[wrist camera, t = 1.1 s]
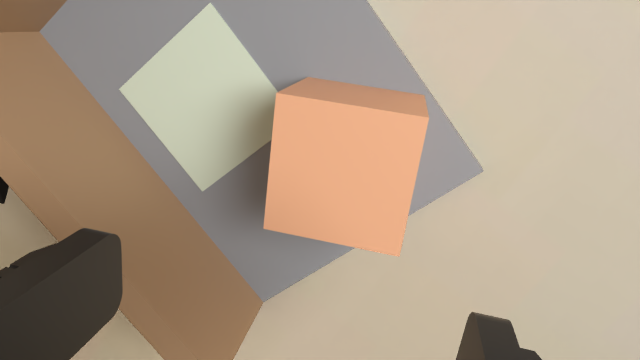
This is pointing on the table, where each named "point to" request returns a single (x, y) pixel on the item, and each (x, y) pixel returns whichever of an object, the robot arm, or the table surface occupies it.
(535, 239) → the table surface
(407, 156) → the cube
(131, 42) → the arena
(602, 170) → the table surface
